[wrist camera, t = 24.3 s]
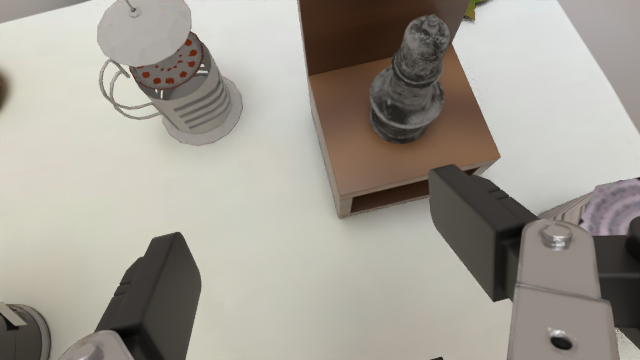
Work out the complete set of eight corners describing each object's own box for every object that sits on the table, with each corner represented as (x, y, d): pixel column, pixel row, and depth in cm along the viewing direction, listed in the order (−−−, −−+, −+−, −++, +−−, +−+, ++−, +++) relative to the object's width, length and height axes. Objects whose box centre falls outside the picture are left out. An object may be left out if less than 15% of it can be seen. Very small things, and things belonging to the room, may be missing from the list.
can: (538, 342, 34) (640, 364, 22) (489, 226, 37) (556, 195, 26) (650, 309, 34) (807, 314, 23) (591, 198, 38) (702, 155, 26)
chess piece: (426, 84, 33) (474, -30, 21) (438, 143, 31) (499, 52, 19) (361, 91, 33) (375, -20, 21) (370, 150, 31) (391, 63, 19)
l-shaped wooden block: (464, 188, 39) (566, 101, 22) (338, 218, 38) (341, 154, 21) (425, 86, 43) (484, -55, 26) (311, 112, 42) (294, -14, 25)
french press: (259, 107, 43) (164, -129, 19) (182, 172, 41) (-32, -5, 17) (208, 59, 45) (69, -203, 22) (133, 117, 43) (-113, -103, 19)
